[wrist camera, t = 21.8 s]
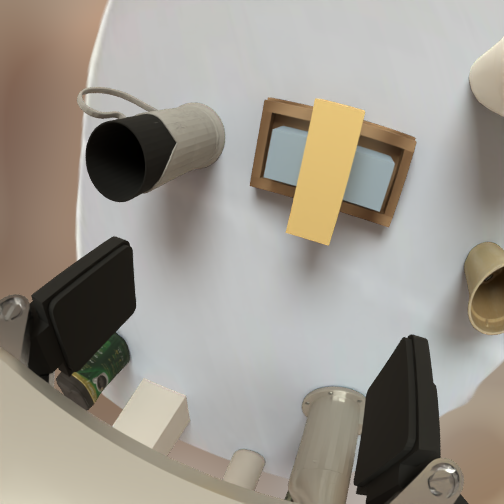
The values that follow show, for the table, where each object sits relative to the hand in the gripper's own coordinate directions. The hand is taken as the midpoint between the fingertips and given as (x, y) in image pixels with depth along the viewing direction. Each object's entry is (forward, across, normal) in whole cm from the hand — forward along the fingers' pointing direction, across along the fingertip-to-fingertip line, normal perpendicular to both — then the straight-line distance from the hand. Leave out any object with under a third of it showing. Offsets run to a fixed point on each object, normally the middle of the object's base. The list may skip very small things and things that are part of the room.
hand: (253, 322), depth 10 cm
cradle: (+28, 0, 0) cm, 28 cm away
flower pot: (+28, -23, +6) cm, 37 cm away
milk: (+29, +21, +63) cm, 72 cm away
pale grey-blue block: (+27, 0, 0) cm, 27 cm away
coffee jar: (+28, +34, +49) cm, 66 cm away
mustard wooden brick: (+23, 0, 0) cm, 23 cm away
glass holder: (+28, +19, 0) cm, 34 cm away
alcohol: (+28, -3, +76) cm, 81 cm away
